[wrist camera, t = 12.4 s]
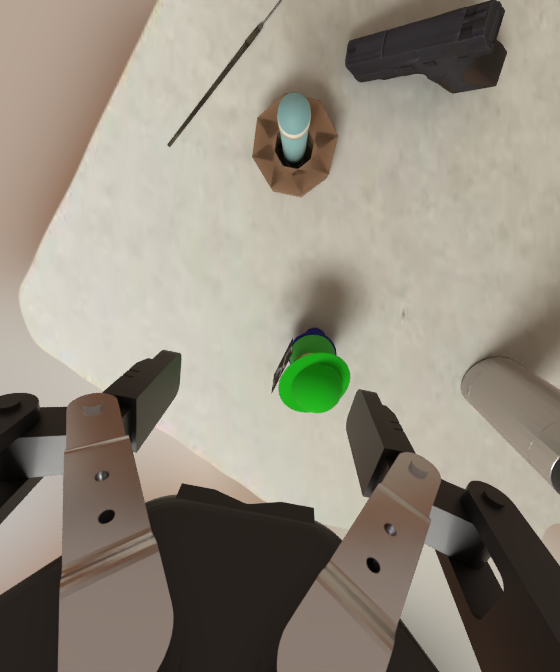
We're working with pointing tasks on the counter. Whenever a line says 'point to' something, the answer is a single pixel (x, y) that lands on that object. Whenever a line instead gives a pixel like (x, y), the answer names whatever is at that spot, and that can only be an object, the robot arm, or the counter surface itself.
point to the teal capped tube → (294, 127)
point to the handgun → (436, 49)
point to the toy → (312, 374)
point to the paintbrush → (222, 75)
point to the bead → (318, 138)
